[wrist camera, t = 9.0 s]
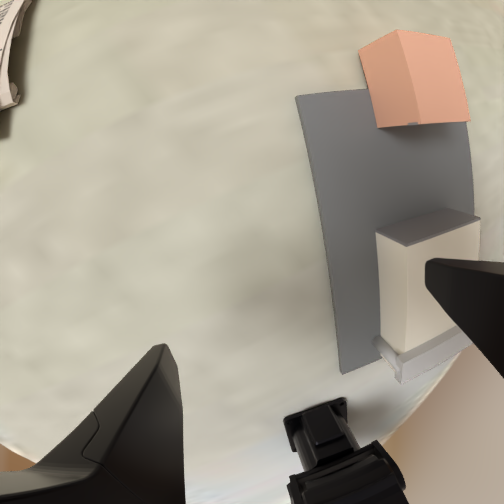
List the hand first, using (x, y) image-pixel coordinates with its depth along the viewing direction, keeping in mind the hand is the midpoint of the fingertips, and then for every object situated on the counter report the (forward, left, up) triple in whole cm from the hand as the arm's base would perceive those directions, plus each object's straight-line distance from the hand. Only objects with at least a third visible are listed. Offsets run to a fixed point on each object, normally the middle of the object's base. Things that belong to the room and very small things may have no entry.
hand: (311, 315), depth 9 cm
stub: (+8, -13, -11) cm, 19 cm away
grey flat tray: (-4, -13, -12) cm, 18 cm away
